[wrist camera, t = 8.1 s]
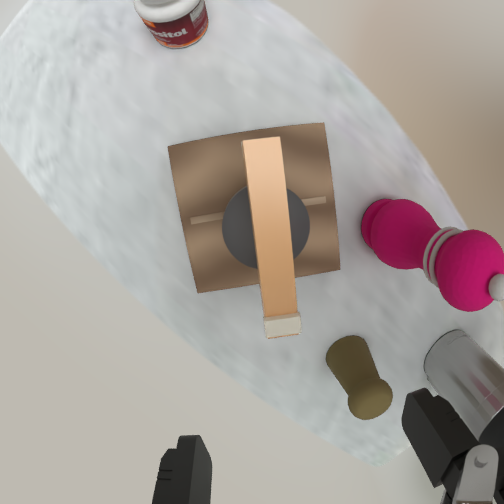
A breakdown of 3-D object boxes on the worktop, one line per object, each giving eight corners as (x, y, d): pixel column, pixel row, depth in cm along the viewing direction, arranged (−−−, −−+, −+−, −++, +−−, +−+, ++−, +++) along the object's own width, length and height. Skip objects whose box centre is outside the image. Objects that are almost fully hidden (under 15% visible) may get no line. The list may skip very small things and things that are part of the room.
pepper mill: (401, 258, 34) (513, 339, 15) (350, 250, 33) (454, 344, 14) (414, 201, 32) (545, 246, 13) (363, 188, 31) (494, 227, 12)
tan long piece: (296, 142, 22) (321, 132, 15) (309, 287, 25) (333, 332, 18) (212, 151, 22) (200, 145, 15) (234, 297, 25) (233, 347, 18)
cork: (341, 329, 36) (372, 384, 26) (375, 342, 37) (410, 393, 27) (317, 365, 38) (338, 423, 27) (351, 375, 39) (378, 429, 28)
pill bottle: (145, 44, 26) (109, 2, 15) (168, 2, 24) (143, -48, 14) (196, 55, 27) (177, 10, 16) (218, 12, 25) (210, -43, 15)
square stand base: (337, 266, 34) (362, 294, 26) (198, 288, 34) (188, 323, 26) (321, 123, 29) (346, 112, 22) (170, 147, 29) (148, 142, 22)
